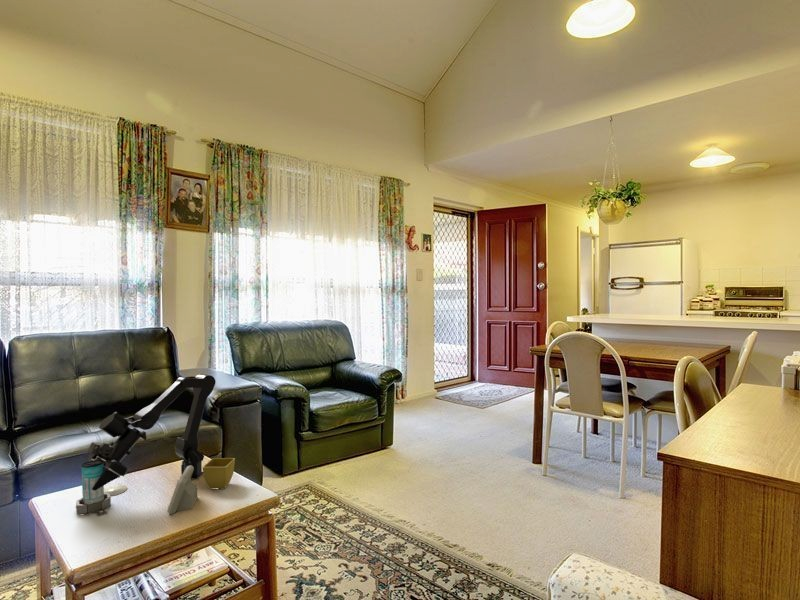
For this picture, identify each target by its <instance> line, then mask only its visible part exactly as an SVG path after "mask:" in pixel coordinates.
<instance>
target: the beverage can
mask: <svg viewBox="0 0 800 600" xmlns="http://www.w3.org/2000/svg"><path fill="white" fill-rule="evenodd" d="M103 466H104V465H103V461H102V460H94V461H89V460H88V461H87V462H84V463H82V464H81V485H82V486H81V488H82V490H81V491H82V498H83V504H85V505H89V504H93V503H98V502H101V501H103V500H104V487H105V485H104V486H102V487H100V488H99V489H97V490H95V491H94V490H92V488H93V486H94V485H95V483H96V482H97V480H98V479H99V477H100V476H101V474H102V473H103Z"/></svg>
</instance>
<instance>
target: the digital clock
mask: <svg viewBox="0 0 800 600" xmlns="http://www.w3.org/2000/svg"><path fill="white" fill-rule="evenodd" d="M193 470H194V467H193V466H191V465H190V466H187V467H186V469H185V471H184V472H183V474H182V475H180V476H179V479H178V480H177V483H176V485H175V488H174V491H173V494H172V497H171V498H170V502H169V505H168V507H167V513H168V515H174V514H175V513H176V512H177V511H184V510H183V509H185V510H190V509H189V508H192V509H193V507H194V505H195V502H196V501H197V499H196V498H198V485H197V484H196V483H195V482H193V479H191V476H192V473H193Z"/></svg>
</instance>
